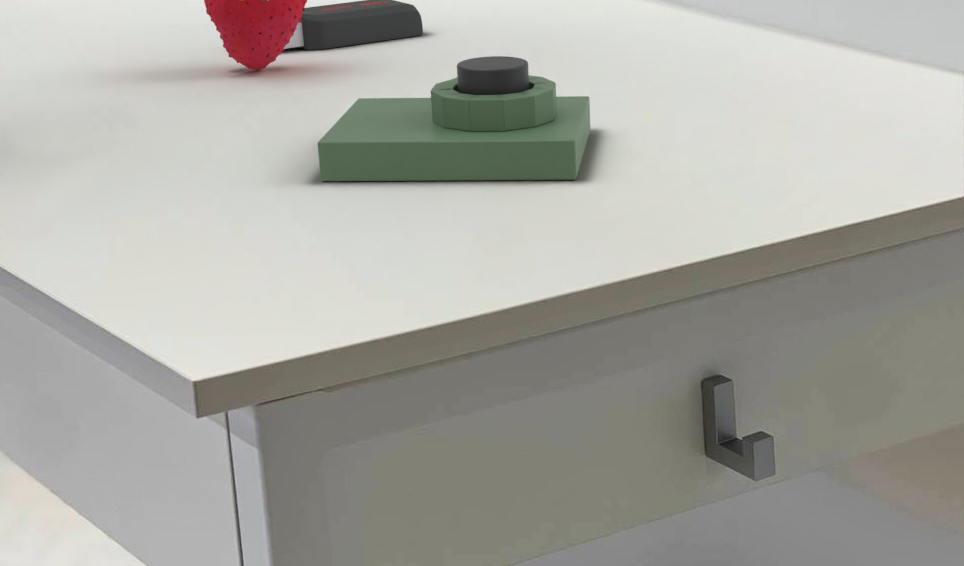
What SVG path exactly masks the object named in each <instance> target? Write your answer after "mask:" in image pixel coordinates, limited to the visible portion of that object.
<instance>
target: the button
mask: <svg viewBox="0 0 964 566" xmlns="http://www.w3.org/2000/svg"><path fill="white" fill-rule="evenodd" d="M456 74H457V75H456V76H457V77H456V78H458V92H459V93H463V94H471V95H504V94H512V93H520V92H523V91H526V90H529V61H527V60H526V59H524V58H521V57H515V56H504V55H503V56H500V55H498V56H497V55H495V56H493V55H491V56H479V57H473V58H472V57H471V58H467V59H464V60H462V61H458V63H457V64H456Z"/></svg>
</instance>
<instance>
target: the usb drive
mask: <svg viewBox="0 0 964 566" xmlns="http://www.w3.org/2000/svg"><path fill="white" fill-rule="evenodd" d="M304 9H305V11H303V13H302V16H301V20H302V21H301V22H299V23H298V25H297V27H296V30H295V32H294V35H293V36H292V37H291V38H290V42H289V43H288V44H287V45H286V46H285V47H284V50H286V49H294V48H299V49H303V50H306V51H310V50H312V51H314V50H315V51H316V50H326V49H334V48H342V47H347V46H348V47H349V46H356V45H363V44H369V43H376V42H384V41H391V40H396V39H397V40H398V39H405V38H413V37H418V36H422V35H423V34H424V28H423V20H422V15H421V13H420V11H419V9H417V7H416V6H415V5H414V4H411V3H407V2H403V1H398V0H357V1H356V0H355V1H349V2H341V3H333V4H325V5H317V6H309V7H304Z"/></svg>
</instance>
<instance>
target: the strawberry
mask: <svg viewBox="0 0 964 566" xmlns="http://www.w3.org/2000/svg"><path fill="white" fill-rule="evenodd" d="M203 1H204V6H205V9H206V10H205V12H206V14H207V15H208V16H209V18H210V22H212V23H213V25H214V26H215V29H216V32H218V33H219V39H220V40H222V43H223V44H222V47H223V48H224V49H225V52H227V53H228V58H231V59H233V60H234V61H235V62H236V63H237V64H241V65H242V66H244V67H245V68H247V69H249V70H251V71H253V70H254V71H261V70H264V69H266V68H267V66H269V65H270V64H272V63H273V62H276V61H277V58H278V57H279V56H281V54H282V52H285V49H284V47H285V46H286V45H287V44H288V43H289V42H290V38H291V37H292V36H293V35H294V32H295V30H296V27H297V25H298V23H299V22H301V21H302V20H301V16H302V13H303V11H305V9H304V8H306V4H307V2H308V0H203Z"/></svg>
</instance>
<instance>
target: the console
mask: <svg viewBox="0 0 964 566" xmlns="http://www.w3.org/2000/svg"><path fill="white" fill-rule="evenodd" d="M590 133H591V102H590V96H587V95H586V96H585V95H583V96H572V95H571V96H570V95H569V96H557V83H556V82H555V81H553V80H550V79H548V78H546V77H543V76H538V75H529V90H526V91H523V92H520V93H512V94H504V95H471V94H463V93H459V92H458V78H457V77H454V78H451V79H447V80H443V81H440V82H438V83H435V84H434V85H433V87H432V88H431V89H430V97H371V98H369V97H366V98H365V97H364V98H363V97H362V98H361V97H359V98H358V99H356V100H355V102H354V103H353V104H352V105H351V106H350V107H349V108H348V109H347V110H346V112H344V114H342V116H341V117H340V118H339V119H338V120H337V121H336V122H335V123H334V124H333V125H332V127H331V128H330V129H329V130H328V131H327V132H326V133H325V134H324V135H323V136H322V137H321V138H320V139H319V140H318V141H317V153H318V164H319V176H320V181H321V182H417V181H419V182H423V181H424V182H425V181H427V182H428V181H429V182H433V181H434V182H436V181H439V182H440V181H441V182H442V181H443V182H444V181H575V180H577V179H578V175H579V171H580V167H581V165H582V161H583V157H584V154H585V151H586V148H587V145H588V141H589V137H590Z"/></svg>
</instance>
